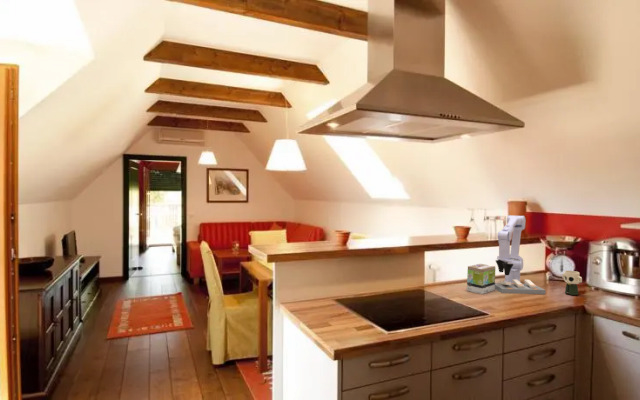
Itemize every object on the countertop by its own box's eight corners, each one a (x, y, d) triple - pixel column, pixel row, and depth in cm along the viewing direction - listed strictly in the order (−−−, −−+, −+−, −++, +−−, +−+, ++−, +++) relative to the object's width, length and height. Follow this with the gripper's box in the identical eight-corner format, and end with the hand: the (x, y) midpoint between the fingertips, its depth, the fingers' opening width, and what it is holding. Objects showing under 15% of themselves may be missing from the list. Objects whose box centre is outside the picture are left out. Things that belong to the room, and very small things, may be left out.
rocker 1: (500, 284, 214) (500, 281, 214) (505, 284, 214) (504, 281, 214) (506, 284, 206) (506, 282, 207) (511, 284, 206) (511, 282, 206)
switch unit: (491, 286, 218) (492, 281, 217) (532, 287, 216) (532, 282, 216) (502, 293, 204) (502, 287, 203) (545, 294, 202) (545, 288, 202)
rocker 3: (524, 281, 213) (524, 279, 213) (528, 281, 213) (529, 279, 213) (531, 287, 205) (531, 285, 205) (536, 288, 205) (536, 285, 205)
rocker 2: (512, 281, 214) (512, 279, 213) (516, 281, 213) (517, 279, 213) (518, 287, 206) (518, 285, 206) (523, 287, 206) (523, 285, 205)
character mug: (557, 292, 206) (558, 270, 206) (566, 291, 208) (567, 269, 208) (576, 297, 196) (577, 274, 195) (585, 296, 198) (586, 273, 198)
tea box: (483, 294, 201) (483, 269, 200) (466, 291, 208) (466, 266, 208) (495, 290, 210) (495, 265, 210) (478, 286, 218) (479, 262, 217)
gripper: (492, 249, 220) (492, 270, 220) (503, 253, 205) (502, 276, 205) (504, 249, 219) (503, 270, 219) (515, 253, 205) (515, 276, 205)
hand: (504, 273), depth 212 cm, fingers open, 7 cm apart
